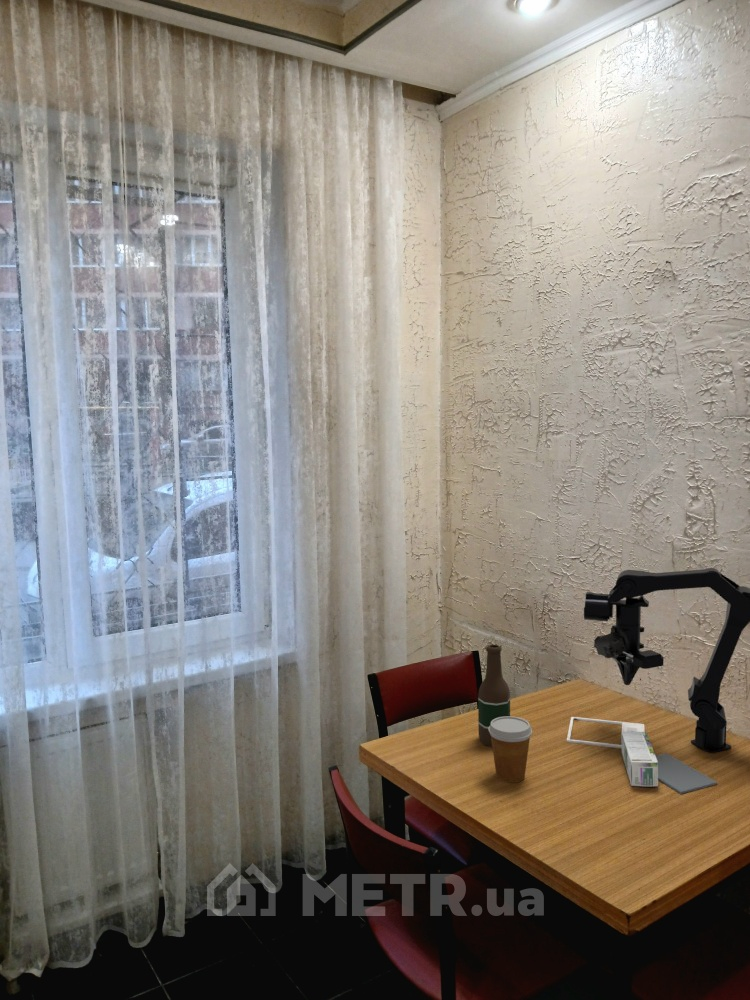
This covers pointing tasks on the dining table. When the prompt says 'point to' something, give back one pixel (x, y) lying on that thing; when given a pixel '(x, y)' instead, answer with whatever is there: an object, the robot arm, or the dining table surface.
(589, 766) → the dining table surface
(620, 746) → the photo frame
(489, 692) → the beer bottle
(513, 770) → the disposable coffee cup
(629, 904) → the dining table surface
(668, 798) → the dining table surface
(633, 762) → the syrup box
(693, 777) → the mat
